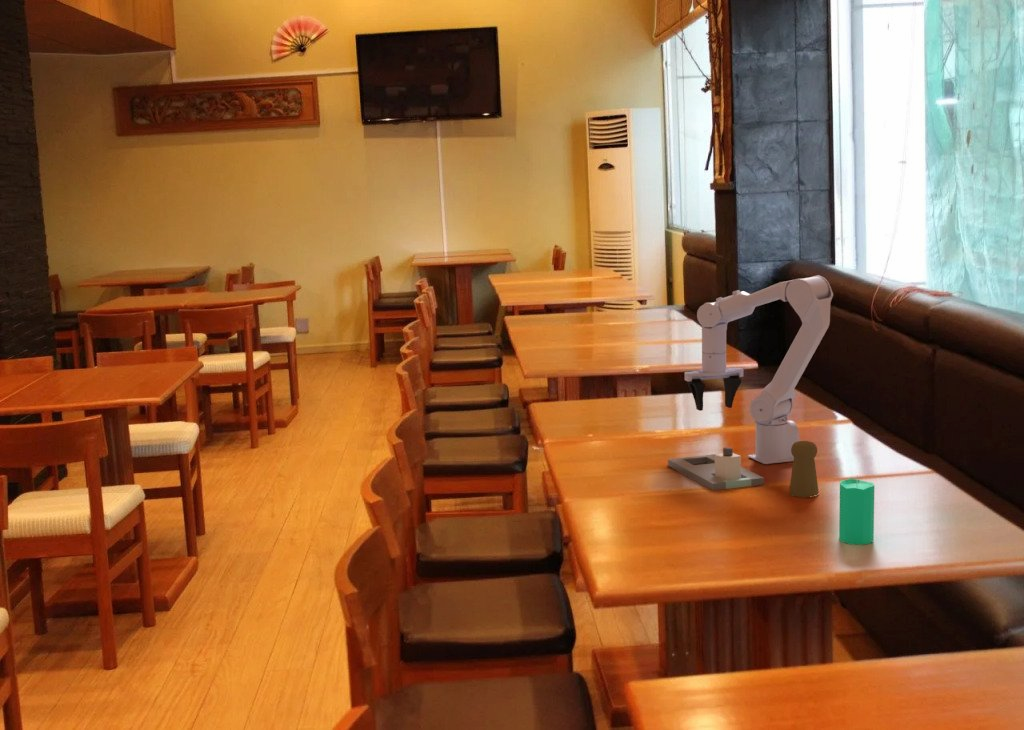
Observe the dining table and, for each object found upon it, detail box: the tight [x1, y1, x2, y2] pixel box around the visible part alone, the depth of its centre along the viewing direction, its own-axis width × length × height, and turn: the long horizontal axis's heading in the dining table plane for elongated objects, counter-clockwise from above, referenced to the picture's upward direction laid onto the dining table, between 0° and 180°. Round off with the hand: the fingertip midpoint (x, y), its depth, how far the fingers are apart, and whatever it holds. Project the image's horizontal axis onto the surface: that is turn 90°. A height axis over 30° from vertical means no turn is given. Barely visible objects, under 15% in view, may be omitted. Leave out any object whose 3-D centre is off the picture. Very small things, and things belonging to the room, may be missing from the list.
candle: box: [838, 474, 875, 546], centre depth 207 cm, size 6×6×12 cm
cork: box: [788, 440, 820, 498], centre depth 237 cm, size 6×6×11 cm
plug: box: [714, 446, 742, 480], centre depth 248 cm, size 4×4×8 cm
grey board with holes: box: [667, 453, 765, 491], centre depth 255 cm, size 12×23×2 cm, turn 16°
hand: (714, 408), depth 275 cm, fingers open, 7 cm apart
